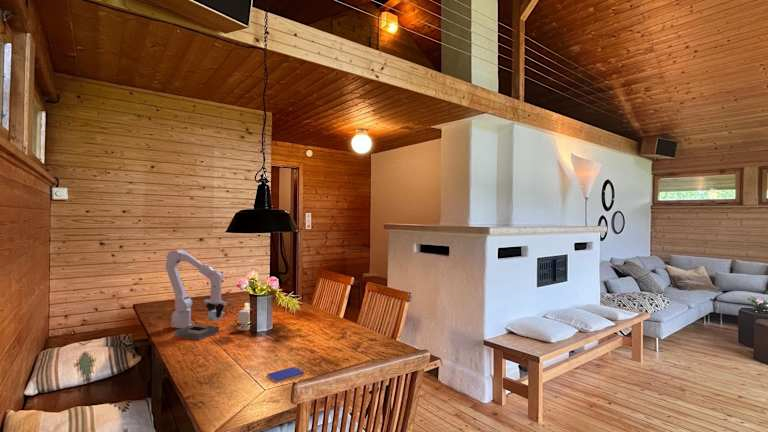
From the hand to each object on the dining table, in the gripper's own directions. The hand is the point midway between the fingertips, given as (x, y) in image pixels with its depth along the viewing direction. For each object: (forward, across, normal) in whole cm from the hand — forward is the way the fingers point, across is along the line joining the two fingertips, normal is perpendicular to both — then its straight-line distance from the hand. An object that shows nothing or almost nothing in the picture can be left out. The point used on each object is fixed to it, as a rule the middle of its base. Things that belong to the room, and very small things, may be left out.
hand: (215, 316), depth 226 cm
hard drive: (+6, +75, -45) cm, 88 cm away
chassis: (+5, +2, -16) cm, 17 cm away
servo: (+2, 0, 0) cm, 2 cm away
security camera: (+6, +18, +3) cm, 19 cm away
